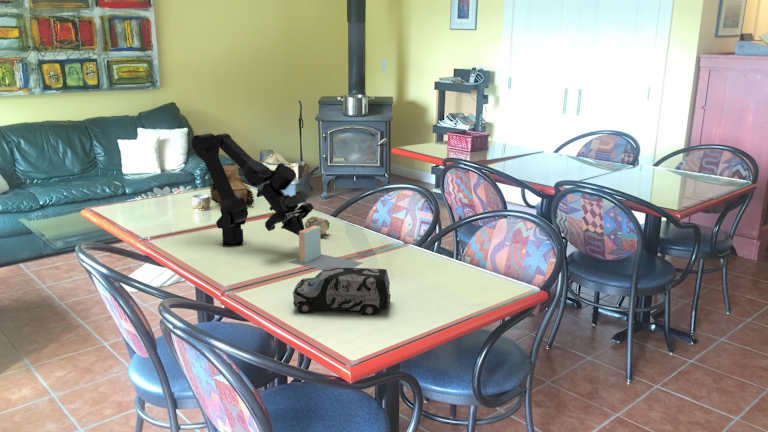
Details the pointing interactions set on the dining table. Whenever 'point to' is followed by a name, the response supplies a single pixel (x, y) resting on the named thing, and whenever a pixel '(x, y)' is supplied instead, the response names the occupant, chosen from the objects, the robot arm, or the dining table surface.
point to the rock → (318, 224)
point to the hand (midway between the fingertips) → (305, 237)
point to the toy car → (344, 290)
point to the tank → (234, 187)
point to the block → (309, 244)
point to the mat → (327, 262)
